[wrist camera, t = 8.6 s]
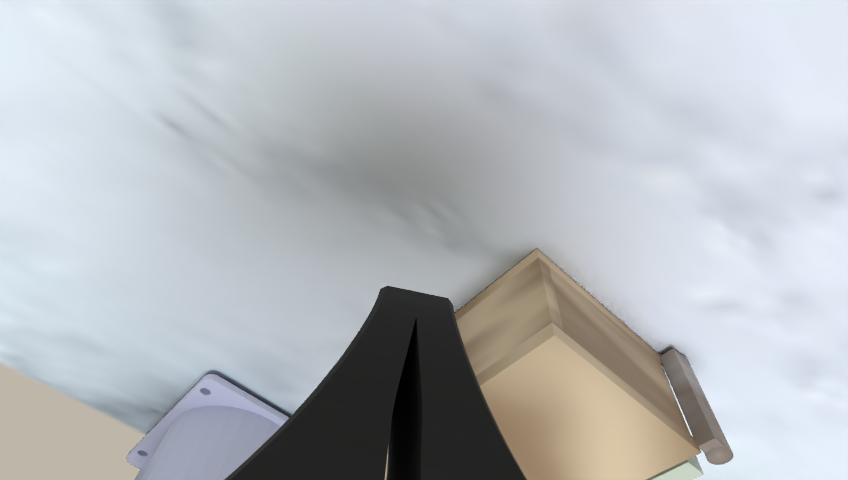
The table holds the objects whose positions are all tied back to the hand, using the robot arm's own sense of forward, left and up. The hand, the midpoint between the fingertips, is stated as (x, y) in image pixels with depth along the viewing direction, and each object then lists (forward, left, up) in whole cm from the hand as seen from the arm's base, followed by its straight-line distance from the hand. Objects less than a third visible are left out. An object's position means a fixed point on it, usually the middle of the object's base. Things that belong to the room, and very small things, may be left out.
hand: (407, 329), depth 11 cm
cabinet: (-6, -10, -10) cm, 15 cm away
